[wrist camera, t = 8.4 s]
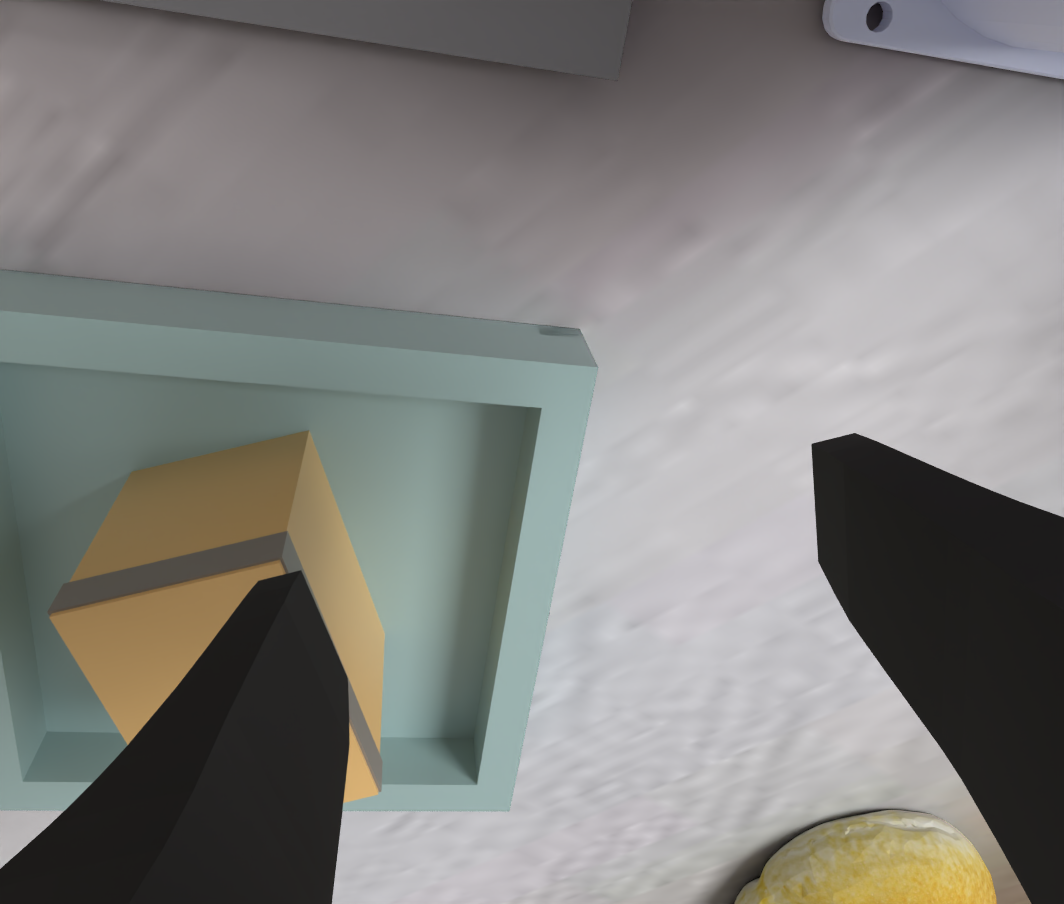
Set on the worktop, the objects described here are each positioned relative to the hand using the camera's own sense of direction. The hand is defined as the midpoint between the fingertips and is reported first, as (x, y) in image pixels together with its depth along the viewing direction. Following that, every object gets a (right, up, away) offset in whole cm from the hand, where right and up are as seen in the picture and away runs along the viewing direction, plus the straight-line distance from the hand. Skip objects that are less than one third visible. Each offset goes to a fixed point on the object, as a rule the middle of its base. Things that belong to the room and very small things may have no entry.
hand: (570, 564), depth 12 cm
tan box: (-7, -1, +9) cm, 11 cm away
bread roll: (+10, -14, +19) cm, 26 cm away
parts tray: (-7, -1, +9) cm, 11 cm away
